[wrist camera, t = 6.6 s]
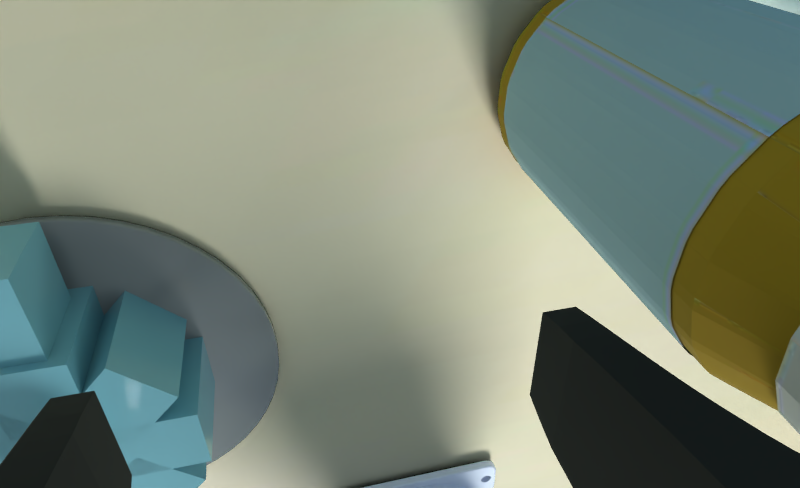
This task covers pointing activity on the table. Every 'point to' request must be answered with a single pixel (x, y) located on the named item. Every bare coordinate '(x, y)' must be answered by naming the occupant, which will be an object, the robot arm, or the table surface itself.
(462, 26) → the table surface
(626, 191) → the bottle
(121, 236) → the blue block ring base
